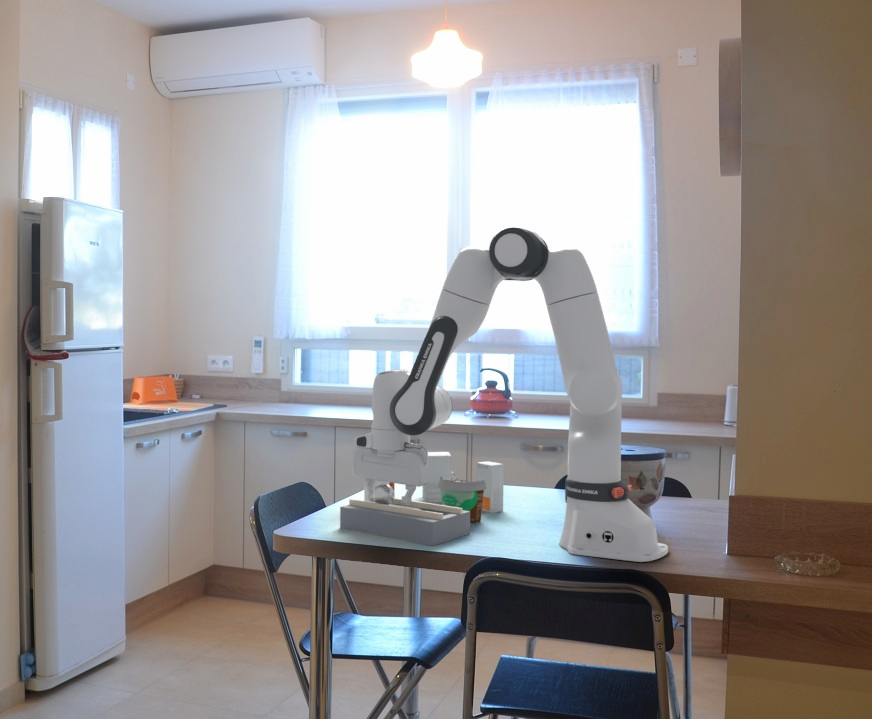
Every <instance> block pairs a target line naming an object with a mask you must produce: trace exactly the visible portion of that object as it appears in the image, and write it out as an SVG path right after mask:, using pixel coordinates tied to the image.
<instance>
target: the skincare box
mask: <svg viewBox="0 0 872 719" xmlns="http://www.w3.org/2000/svg"><path fill="white" fill-rule="evenodd" d="M504 466H505V465H504V463H499V462H495V461H489V460H488V461H479V462H476V481H475V482H477V481H483V480H485V483H486V489H485V490H484V493H483V503H482V510H483V511H482V512H486V513H489V514H492V513H499V512H504V475H505V474H504V472H505V471H504V470H505V468H504Z"/></svg>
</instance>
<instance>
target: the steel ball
mask: <svg viewBox="0 0 872 719" xmlns="http://www.w3.org/2000/svg"><path fill="white" fill-rule="evenodd" d="M395 495H396V493H395V489H394V490H393V488H392V487H391V486H390V485H388V484H380V485H378V486H377V487H376V488H375V489H374V491H373V499H374V501H375V502H376V503H379V504H385V505H389V504H391V503H392V502H393V500H394V498H396V496H395Z"/></svg>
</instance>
